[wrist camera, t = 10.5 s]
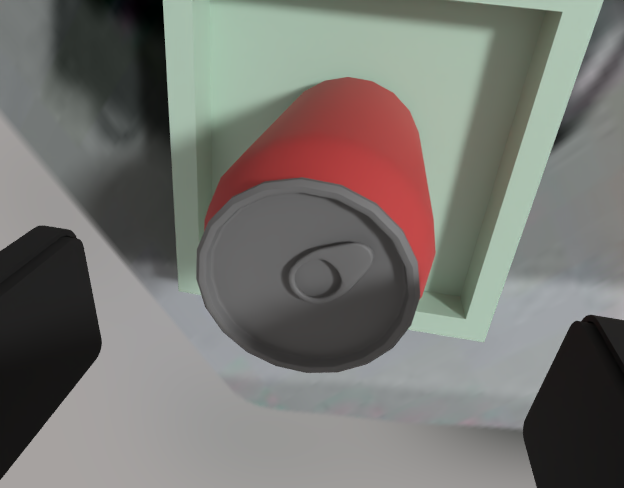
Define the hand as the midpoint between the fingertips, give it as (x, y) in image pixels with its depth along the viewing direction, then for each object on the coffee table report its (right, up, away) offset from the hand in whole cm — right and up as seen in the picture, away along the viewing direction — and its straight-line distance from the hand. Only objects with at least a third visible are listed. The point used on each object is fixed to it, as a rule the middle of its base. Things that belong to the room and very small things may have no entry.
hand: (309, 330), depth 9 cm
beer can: (+2, +6, +13) cm, 14 cm away
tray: (+2, +6, +14) cm, 15 cm away
